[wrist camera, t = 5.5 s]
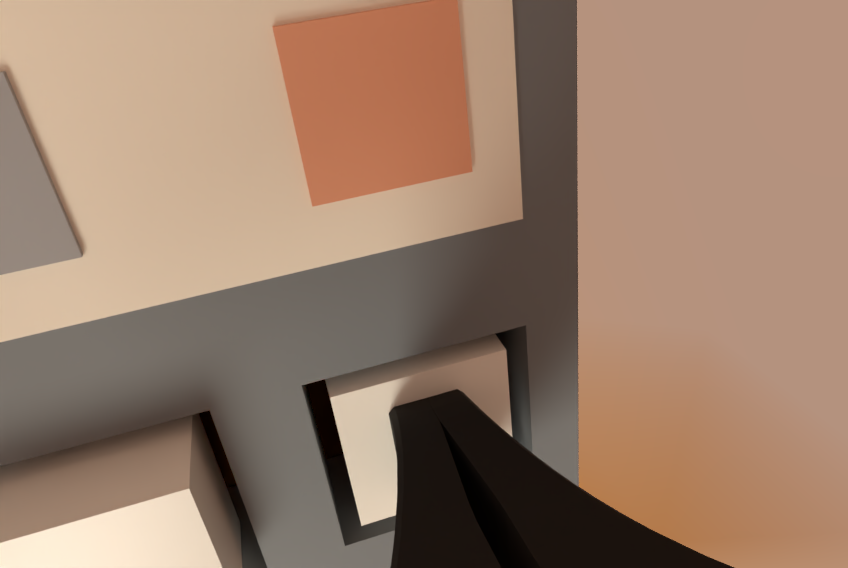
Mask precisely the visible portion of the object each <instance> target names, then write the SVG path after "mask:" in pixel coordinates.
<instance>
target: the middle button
mask: <svg viewBox="0 0 848 568" xmlns="http://www.w3.org/2000/svg"><path fill="white" fill-rule="evenodd" d="M0 568H242V552H241V530H240V521H239V518H238V516H237V513H236V510H235V508H234V505H233V503H232V500H231V497H230V495H229V492H228V489H227V487H226V484H225V482H224V479H223V476H222V474H221V471H220V468H219V466H218V463H217V461H216V458H215V455H214V453H213V450H212V447H211V445H210V442H209V440H208V437H207V434H206V432H205V429H204V426H203V424H202V421H201V418H200V416H199V413H197V414H194V415H190V416H186V417H182V418H179V419H175V420H171V421H168V422H164V423H160V424H156V425H153V426H149V427H145V428H141V429H138V430H134V431H130V432H127V433H123V434H119V435H115V436H112V437H108V438H104V439H100V440H97V441H93V442H89V443H86V444H82V445H78V446H74V447H71V448H67V449H63V450H59V451H56V452H52V453H48V454H45V455H41V456H37V457H33V458H30V459H26V460H22V461H18V462H15V463H11V464H7V465H4V466H0Z"/></svg>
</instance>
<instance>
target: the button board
mask: <svg viewBox="0 0 848 568" xmlns="http://www.w3.org/2000/svg"><path fill="white" fill-rule="evenodd" d="M577 226H578V225H577V0H0V466H4V465H7V464H11V463H15V462H18V461H22V460H26V459H30V458H33V457H37V456H41V455H45V454H48V453H52V452H56V451H59V450H63V449H67V448H71V447H74V446H78V445H82V444H86V443H89V442H93V441H97V440H100V439H104V438H108V437H112V436H115V435H119V434H123V433H127V432H130V431H134V430H138V429H141V428H145V427H149V426H153V425H156V424H160V423H164V422H168V421H171V420H175V419H179V418H182V417H186V416H190V415H194V414H197V413H201V412H205V411H210V413H211V416H212V419H213V421H214V424H215V427H216V429H217V432H218V435H219V438H220V440H221V443H222V446H223V448H224V451H225V454H226V457H227V459H228V462H229V465H230V467H231V470H232V473H233V476H234V478H235V481H236V484H237V485H236V486H233V487H229V488H227V489H228V492H229V495H230V497H231V500H232V503H233V505H234V508H235V510H236V513H237V516H238V518H239V521H240V530H241V552H242V568H390V567H391V560H392V552H393V544H394V534H395V521H396V515H395V516H392V517H388V518H385V519H382V520H379V521H376V522H373V523H369V524H366V525H363V526H361V522H360V518H359V514H358V510H357V506H356V502H355V498H354V494H353V490H352V486H351V482H350V478H349V474H348V470H347V466H346V462H345V458H344V454H343V455H339V456H336V457H332V458H329V459H326V456H325V453H324V449H323V445H322V441H321V437H320V434H319V430H318V426H317V422H316V419H315V415H314V411H313V407H312V404H311V400H310V396H309V392H308V389H307V385H306V384H309V383H313V382H317V381H320V380H324V379H328V378H332V377H335V376H339V375H343V374H346V373H350V372H354V371H358V370H361V369H365V368H369V367H373V366H376V365H380V364H384V363H387V362H391V361H395V360H399V359H402V358H406V357H410V356H413V355H417V354H421V353H425V352H428V351H432V350H436V349H440V348H443V347H447V346H451V345H454V344H458V343H462V342H466V341H469V340H473V339H477V338H481V337H484V336H488V335H492V334H496V336H497V337H498V339H499V340H500V341H501V343H502V344H503V346H504V347H505V349H506V354H507V368H508V382H509V396H510V410H511V424H512V437H513V438H514V439H515V440H517V441H518V442H519V443H520V444H522V445H523V446H524V447H525V448H527V449H528V450H529V451H530V452H532V453H533V454H534V455H535V456H537V457H538V458H539V459H541V460H542V461H543V462H545V463H546V464H547V465H549V466H550V467H551V468H553V469H554V470H555V471H557V472H558V473H560V474H561V475H562V476H564V477H565V478H567V479H568V480H570V481H571V482H572V483H574V484H575V485H577V486H578V487H579V478H578V248H577V247H578V240H577V239H578V235H577V232H578V230H577V229H578V228H577Z"/></svg>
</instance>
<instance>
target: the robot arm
mask: <svg viewBox="0 0 848 568" xmlns="http://www.w3.org/2000/svg"><path fill="white" fill-rule="evenodd" d="M389 419H390V424H391V429H392V434H393V439H394V445H395V450H396V455H397V507H396V521H395V534H394V544H393V552H392V560H391V567H390V568H734V567H731V566H729V565H726V564H724V563H721V562H719V561H717V560H714V559H712V558H709V557H707V556H705V555H703V554H700V553H698V552H696V551H694V550H692V549H690V548H688V547H686V546H684V545H682V544H680V543H678V542H676V541H673V540H671V539H669V538H667V537H665V536H663V535H661V534H659V533H657V532H655V531H653V530H651V529H649V528H647V527H645V526H643V525H642V524H640V523H638V522H636V521H634V520H632V519H630V518H629V517H627V516H625V515H623V514H622V513H620V512H618V511H617V510H615V509H613V508H612V507H610V506H608V505H606V504H605V503H603V502H602V501H600V500H598V499H597V498H595V497H593V496H592V495H591V494H589V493H587V492H586V491H584V490H583V489H581V488H580V487H578V486H577V485H575V484H574V483H572V482H571V481H570V480H568V479H567V478H565V477H564V476H562V475H561V474H560V473H558V472H557V471H555V470H554V469H553V468H551V467H550V466H549V465H547V464H546V463H545V462H543V461H542V460H541V459H539V458H538V457H537V456H535V455H534V454H533V453H532V452H530V451H529V450H528V449H527V448H525V447H524V446H523V445H522V444H520V443H519V442H518V441H517V440H515V439H514V438H513V437H512V436H510V435H509V434H508V433H507V432H506V431H505V430H503V429H502V428H501V427H500V426H499V425H498V424H497V423H495V422H494V421H493V420H492V419H491V418H490V417H489V416H488V415H486V414H485V413H484V412H483V411H482V410H481V409H480V408H479V407H478V406H477V405H476V404H475V403H474V402H473V401H472V400H471V399H469V398H468V397H467V396H466V395H465V394H464V393H463V392H462V391H460V390H458V389H455V390H452V391H448V392H445V393H441V394H438V395H435V396H431V397H427V398H424V399H420V400H417V401H413V402H410V403H406V404H403V405H399V406H395V407H393V408H392V410H391V411H390V412H389Z"/></svg>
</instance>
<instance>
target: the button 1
mask: <svg viewBox="0 0 848 568" xmlns="http://www.w3.org/2000/svg"><path fill="white" fill-rule="evenodd" d="M325 381H326V385H327V389H328V394H329V398H330V402H331V406H332V410H333V414H334V418H335V422H336V426H337V430H338V434H339V438H340V442H341V446H342V450H343V454H344V458H345V462H346V466H347V470H348V474H349V478H350V482H351V486H352V490H353V494H354V498H355V502H356V506H357V510H358V514H359V518H360V522H361V526H363V525H366V524H369V523H373V522H376V521H379V520H382V519H385V518H388V517H392V516H395V515H396V507H397V455H396V450H395V445H394V439H393V434H392V429H391V424H390V419H389V412H390V411H391V410H392V408H393V407H395V406H399V405H403V404H406V403H410V402H413V401H417V400H420V399H424V398H427V397H431V396H435V395H438V394H441V393H445V392H448V391H452V390H455V389H458V390H460V391H462V392H463V393H464V394H465V395H466V396H467V397H468V398H469V399H471V400H472V401H473V402H474V403H475V404H476V405H477V406H478V407H479V408H480V409H481V410H482V411H483V412H484V413H485V414H486V415H488V416H489V417H490V418H491V419H492V420H493V421H494V422H495V423H497V424H498V425H499V426H500V427H501V428H502V429H503V430H505V431H506V432H507V433H508V434H509V435H510V436H512V424H511V410H510V396H509V382H508V368H507V354H506V349H505V347H504V346H503V344H502V343H501V341H500V340H499V339H498V337H497V336H496V334H492V335H488V336H484V337H481V338H477V339H473V340H469V341H466V342H462V343H458V344H454V345H451V346H447V347H443V348H440V349H436V350H432V351H428V352H425V353H421V354H417V355H413V356H410V357H406V358H402V359H399V360H395V361H391V362H387V363H384V364H380V365H376V366H373V367H369V368H365V369H361V370H358V371H354V372H350V373H346V374H343V375H339V376H335V377H332V378H328V379H325Z"/></svg>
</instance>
